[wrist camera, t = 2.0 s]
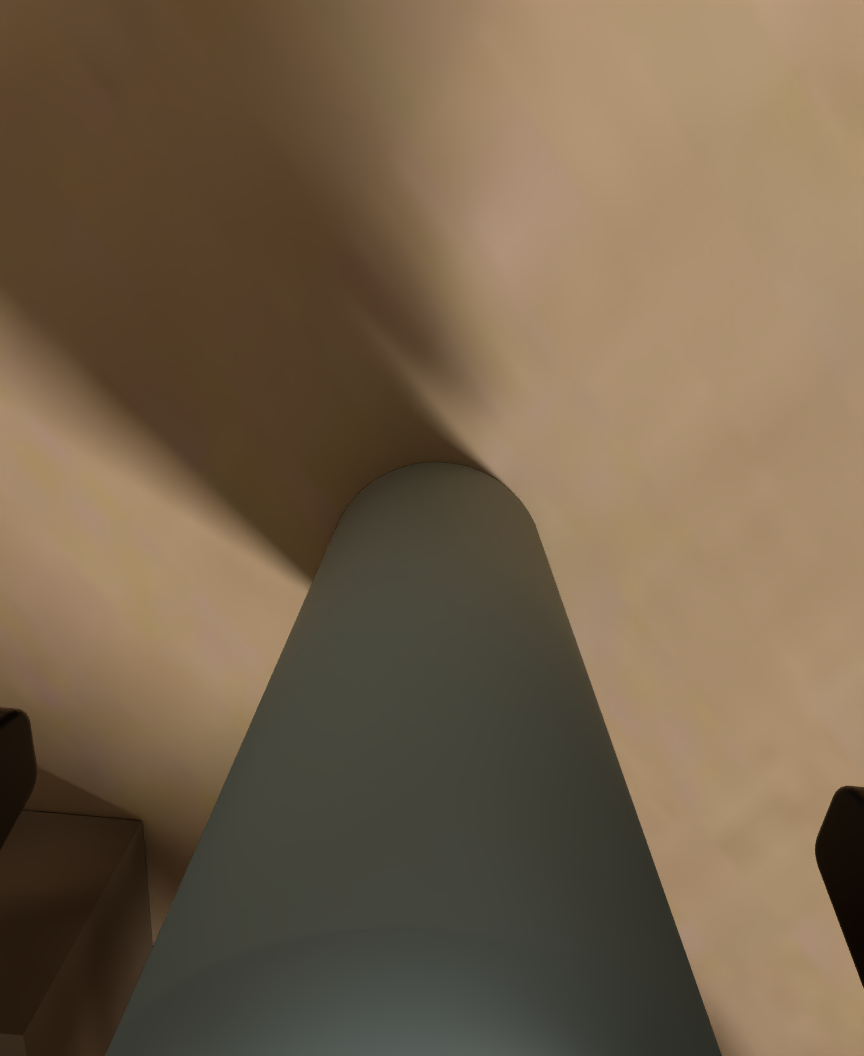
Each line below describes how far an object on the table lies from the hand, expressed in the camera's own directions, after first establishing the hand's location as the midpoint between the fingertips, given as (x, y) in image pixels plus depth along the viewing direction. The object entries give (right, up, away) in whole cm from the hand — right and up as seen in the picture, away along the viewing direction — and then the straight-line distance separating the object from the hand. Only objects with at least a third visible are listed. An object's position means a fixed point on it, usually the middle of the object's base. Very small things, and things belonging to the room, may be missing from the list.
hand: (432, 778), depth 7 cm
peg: (0, +2, +5) cm, 6 cm away
